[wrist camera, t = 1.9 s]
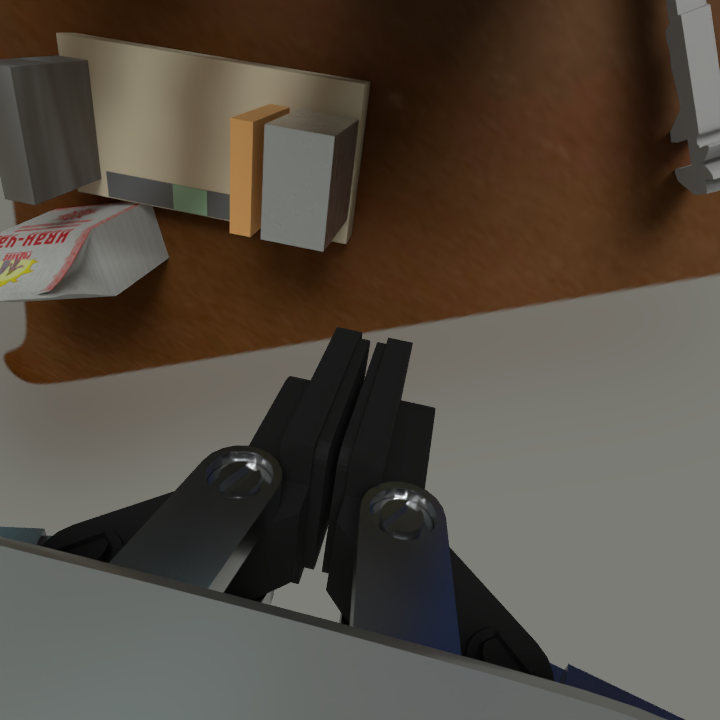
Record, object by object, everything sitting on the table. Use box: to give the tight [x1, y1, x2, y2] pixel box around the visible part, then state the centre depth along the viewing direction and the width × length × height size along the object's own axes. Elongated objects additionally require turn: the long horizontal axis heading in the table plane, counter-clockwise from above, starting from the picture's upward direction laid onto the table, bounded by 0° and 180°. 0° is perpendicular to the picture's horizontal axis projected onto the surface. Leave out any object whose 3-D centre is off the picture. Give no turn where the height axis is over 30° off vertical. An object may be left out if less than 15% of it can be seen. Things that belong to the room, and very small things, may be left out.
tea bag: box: [0, 201, 169, 302], centre depth 31 cm, size 4×7×10 cm, turn 99°
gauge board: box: [0, 33, 371, 244], centre depth 28 cm, size 16×8×7 cm, turn 83°
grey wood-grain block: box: [261, 109, 359, 252], centre depth 27 cm, size 3×5×5 cm, turn 173°
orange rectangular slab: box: [230, 104, 290, 237], centre depth 27 cm, size 1×6×5 cm, turn 173°
